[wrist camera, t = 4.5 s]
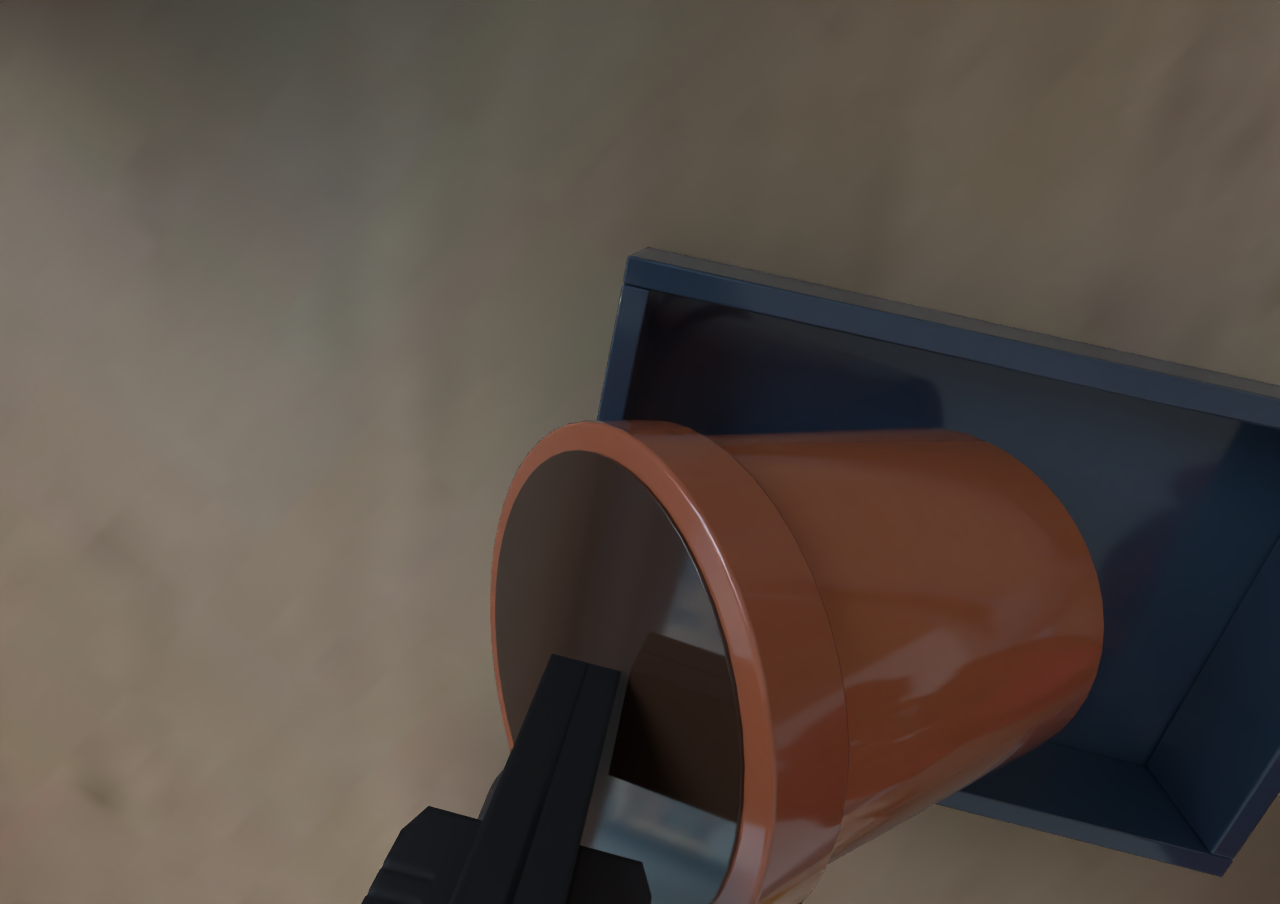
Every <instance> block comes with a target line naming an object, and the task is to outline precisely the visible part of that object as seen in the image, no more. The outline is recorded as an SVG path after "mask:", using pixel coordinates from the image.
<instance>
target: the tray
mask: <svg viewBox="0 0 1280 904" xmlns="http://www.w3.org/2000/svg"><path fill="white" fill-rule="evenodd" d="M623 283H624V284H623V286H622V289H621V294H620V299H619V304H618V310H617V315H616V320H615V326H614V331H613V336H612V341H611V347H610V352H609V357H608V363H607V368H606V373H605V379H604V384H603V389H602V394H601V400H600V405H599V410H598V416H597V420H645V419H650V420H660V421H669V422H672V423H675V424H678V425H682V426H685V427H688V428H690V429H692V430H694V431H696V432H697V433H699V434H701V435H726V434H751V433H777V432H803V431H829V430H855V429H881V428H907V427H932V428H944V429H949V430H953V431H958V432H963V433H966V434H968V435H971V436H974V437H977V438H979V439H982V440H985V441H987V442H989V443H990V444H992V445H994V446H996V447H998V448H1000V449H1002V450H1004V451H1005V452H1007V453H1008V454H1010V455H1011V456H1013V457H1014V458H1016V459H1017V460H1018V461H1020V462H1021V463H1023V464H1024V465H1025V466H1026V467H1028V468H1029V469H1030V470H1031V471H1032V472H1033V473H1034V474H1035V475H1036V476H1038V477H1039V478H1040V479H1041V480H1042V481H1043V482H1044V483H1045V484H1046V485H1047V486H1048V488H1049V489H1050V490H1051V491H1052V492H1053V493H1054V495H1055V496H1056V497H1057V498H1058V499H1059V500H1060V501H1061V503H1062V504H1063V506H1064V507H1065V509H1066V510H1067V512H1068V513H1069V515H1070V516H1071V518H1072V519H1073V521H1074V522H1075V524H1076V526H1077V528H1078V530H1079V532H1080V534H1081V536H1082V538H1083V540H1084V542H1085V544H1086V546H1087V548H1088V550H1089V553H1090V556H1091V559H1092V561H1093V564H1094V567H1095V570H1096V573H1097V577H1098V582H1099V587H1100V591H1101V596H1102V603H1103V619H1104V633H1103V645H1102V654H1101V658H1100V662H1099V666H1098V670H1097V674H1096V677H1095V680H1094V682H1093V684H1092V686H1091V689H1090V691H1089V693H1088V696H1087V698H1086V699H1085V701H1084V702H1083V704H1082V705H1081V707H1080V708H1079V710H1078V712H1077V713H1076V715H1075V716H1074V717H1073V718H1072V719H1071V720H1070V721H1069V722H1068V723H1067V724H1066V726H1065V727H1064V728H1063V729H1062V730H1061V731H1060V732H1059V733H1057V734H1056V735H1054V736H1053V737H1052V738H1050V739H1049V740H1047V741H1046V742H1045V743H1043V744H1042V745H1040V746H1038V747H1036V748H1035V749H1033V750H1031V751H1029V752H1027V753H1026V754H1024V755H1022V756H1020V757H1018V758H1017V759H1015V760H1013V761H1011V762H1010V763H1008V764H1006V765H1004V766H1002V767H1001V768H999V769H997V770H995V771H993V772H992V773H990V774H988V775H986V776H985V777H983V778H981V779H979V780H977V781H976V782H974V783H972V784H970V785H969V786H967V787H965V788H963V789H961V790H960V791H958V792H956V793H954V794H952V795H951V796H949V797H947V798H945V799H944V800H942V801H940V802H938V803H936V804H938V805H942V806H946V807H949V808H953V809H957V810H961V811H965V812H969V813H973V814H977V815H981V816H985V817H989V818H992V819H996V820H1000V821H1004V822H1008V823H1012V824H1016V825H1020V826H1024V827H1028V828H1032V829H1035V830H1039V831H1043V832H1047V833H1051V834H1055V835H1059V836H1063V837H1067V838H1071V839H1074V840H1078V841H1082V842H1086V843H1090V844H1094V845H1098V846H1102V847H1106V848H1110V849H1114V850H1117V851H1121V852H1125V853H1129V854H1133V855H1137V856H1141V857H1145V858H1149V859H1153V860H1157V861H1160V862H1164V863H1168V864H1172V865H1176V866H1180V867H1184V868H1188V869H1192V870H1196V871H1200V872H1203V873H1207V874H1211V875H1215V876H1219V877H1222V876H1223V875H1224V873H1225V872H1226V870H1227V869H1228V868H1229V866H1230V865H1231V863H1232V859H1233V858H1235V856H1236V855H1237V853H1238V852H1239V850H1240V849H1241V847H1242V846H1243V845H1244V843H1245V842H1246V840H1247V839H1248V837H1249V836H1250V834H1251V833H1252V831H1253V830H1254V828H1255V827H1256V826H1257V824H1258V823H1259V821H1260V820H1261V818H1262V817H1263V815H1264V814H1265V812H1266V811H1267V809H1268V808H1269V807H1270V805H1271V804H1272V802H1273V801H1274V799H1275V798H1276V796H1277V795H1278V793H1279V792H1280V386H1279V385H1275V384H1270V383H1266V382H1261V381H1257V380H1252V379H1248V378H1243V377H1238V376H1234V375H1229V374H1225V373H1220V372H1216V371H1211V370H1207V369H1202V368H1198V367H1193V366H1188V365H1184V364H1179V363H1175V362H1170V361H1166V360H1161V359H1157V358H1152V357H1147V356H1143V355H1138V354H1134V353H1129V352H1125V351H1120V350H1116V349H1111V348H1106V347H1102V346H1097V345H1093V344H1088V343H1084V342H1079V341H1075V340H1070V339H1065V338H1061V337H1056V336H1052V335H1047V334H1043V333H1038V332H1034V331H1029V330H1025V329H1020V328H1015V327H1011V326H1006V325H1002V324H997V323H993V322H988V321H984V320H979V319H974V318H970V317H965V316H961V315H956V314H952V313H947V312H943V311H938V310H933V309H929V308H924V307H920V306H915V305H911V304H906V303H902V302H897V301H892V300H888V299H883V298H879V297H874V296H870V295H865V294H861V293H856V292H851V291H847V290H842V289H838V288H833V287H829V286H824V285H820V284H815V283H811V282H806V281H801V280H797V279H792V278H788V277H783V276H779V275H774V274H770V273H765V272H760V271H756V270H751V269H747V268H742V267H738V266H733V265H729V264H724V263H719V262H715V261H710V260H706V259H701V258H697V257H692V256H688V255H683V254H678V253H674V252H669V251H665V250H660V249H656V248H651V247H647V248H645V249H643V250H640V251H638V252H636V253H634V254H631V255H629V256H628V258H627V262H626V267H625V273H624V278H623Z"/></svg>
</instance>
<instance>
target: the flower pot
mask: <svg viewBox="0 0 1280 904" xmlns="http://www.w3.org/2000/svg"><path fill="white" fill-rule="evenodd" d="M490 621H491V639H492V652H493V661H494V671H495V677H496V684H497V691H498V697H499V702H500V707H501V712H502V717H503V722H504V727H505V731H506V735H507V739H508V743H509V747H510V751H512V748H513V746H514V743H515V741H516V739H517V736H518V734H519V731H520V729H521V727H522V724H523V722H524V719H525V717H526V714H527V712H528V710H529V707H530V705H531V702H532V700H533V697H534V695H535V693H536V690H537V688H538V685H539V683H540V680H541V678H542V676H543V673H544V671H545V668H546V666H547V663H548V661H549V659H550V656H551V654H556V655H559V656H563V657H567V658H571V659H575V660H579V661H583V662H587V663H590V664H594V665H598V666H602V667H605V668H609V669H613V670H617V671H621V676H620V680H619V684H618V688H617V692H616V696H615V701H614V705H613V709H612V713H611V717H610V721H609V725H608V730H607V734H606V738H605V742H604V746H603V750H602V755H601V759H600V763H599V767H598V771H597V775H596V780H595V784H594V788H593V792H592V796H591V800H590V805H589V809H588V813H587V817H586V821H585V825H584V830H583V834H582V838H581V842H580V845H581V846H585V847H589V848H593V849H596V850H600V851H604V852H607V853H611V854H615V855H619V856H622V857H626V858H630V859H633V860H637V861H641V862H642V863H643V866H644V870H645V874H646V877H647V881H648V884H649V888H650V892H651V895H652V899H651V904H802V902H803V901H804V900H805V899H806V898H807V896H808V895H809V894H810V893H811V892H812V890H813V889H814V888H815V886H816V885H817V883H818V881H819V879H820V877H821V875H822V873H823V871H824V869H825V868H826V866H827V865H828V864H829V863H831V862H833V861H835V860H836V859H838V858H840V857H842V856H844V855H845V854H847V853H849V852H851V851H853V850H854V849H856V848H858V847H860V846H861V845H863V844H865V843H867V842H869V841H870V840H872V839H874V838H876V837H877V836H879V835H881V834H883V833H885V832H886V831H888V830H890V829H892V828H894V827H895V826H897V825H899V824H901V823H902V822H904V821H906V820H908V819H910V818H911V817H913V816H915V815H917V814H919V813H920V812H922V811H924V810H926V809H927V808H929V807H931V806H933V805H935V804H936V803H938V802H940V801H942V800H944V799H945V798H947V797H949V796H951V795H952V794H954V793H956V792H958V791H960V790H961V789H963V788H965V787H967V786H969V785H970V784H972V783H974V782H976V781H977V780H979V779H981V778H983V777H985V776H986V775H988V774H990V773H992V772H993V771H995V770H997V769H999V768H1001V767H1002V766H1004V765H1006V764H1008V763H1010V762H1011V761H1013V760H1015V759H1017V758H1018V757H1020V756H1022V755H1024V754H1026V753H1027V752H1029V751H1031V750H1033V749H1035V748H1036V747H1038V746H1040V745H1042V744H1043V743H1045V742H1046V741H1047V740H1049V739H1050V738H1052V737H1053V736H1054V735H1056V734H1057V733H1059V732H1060V731H1061V730H1062V729H1063V728H1064V727H1065V726H1066V724H1067V723H1068V722H1069V721H1070V720H1071V719H1072V718H1073V717H1074V716H1075V715H1076V713H1077V712H1078V710H1079V708H1080V707H1081V705H1082V704H1083V702H1084V701H1085V699H1086V698H1087V696H1088V693H1089V691H1090V689H1091V686H1092V684H1093V682H1094V680H1095V677H1096V674H1097V670H1098V666H1099V662H1100V658H1101V654H1102V645H1103V633H1104V619H1103V603H1102V596H1101V591H1100V587H1099V582H1098V577H1097V573H1096V570H1095V567H1094V564H1093V561H1092V559H1091V556H1090V553H1089V550H1088V548H1087V546H1086V544H1085V542H1084V540H1083V538H1082V536H1081V534H1080V532H1079V530H1078V528H1077V526H1076V524H1075V522H1074V521H1073V519H1072V518H1071V516H1070V515H1069V513H1068V512H1067V510H1066V509H1065V507H1064V506H1063V504H1062V503H1061V501H1060V500H1059V499H1058V498H1057V497H1056V496H1055V495H1054V493H1053V492H1052V491H1051V490H1050V489H1049V488H1048V486H1047V485H1046V484H1045V483H1044V482H1043V481H1042V480H1041V479H1040V478H1039V477H1038V476H1036V475H1035V474H1034V473H1033V472H1032V471H1031V470H1030V469H1029V468H1028V467H1026V466H1025V465H1024V464H1023V463H1021V462H1020V461H1018V460H1017V459H1016V458H1014V457H1013V456H1011V455H1010V454H1008V453H1007V452H1005V451H1004V450H1002V449H1000V448H998V447H996V446H994V445H992V444H990V443H989V442H987V441H985V440H982V439H979V438H977V437H974V436H971V435H968V434H966V433H963V432H958V431H953V430H949V429H944V428H932V427H907V428H881V429H855V430H829V431H803V432H777V433H751V434H726V435H701V434H699V433H697V432H696V431H694V430H692V429H690V428H688V427H685V426H682V425H678V424H675V423H672V422H669V421H660V420H650V419H645V420H597V421H581V422H574V423H569V424H567V425H564V426H562V427H560V428H558V429H555V430H553V431H552V432H550V433H549V434H548V435H546V436H545V437H544V438H542V439H541V440H540V441H539V442H538V443H537V444H536V445H535V446H534V447H533V448H532V449H531V450H530V452H529V453H528V454H527V456H526V457H525V459H524V460H523V462H522V463H521V465H520V466H519V468H518V470H517V472H516V474H515V476H514V478H513V480H512V482H511V484H510V487H509V490H508V493H507V495H506V498H505V501H504V504H503V507H502V511H501V515H500V519H499V523H498V528H497V533H496V539H495V544H494V552H493V561H492V570H491V590H490Z"/></svg>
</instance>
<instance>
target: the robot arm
mask: <svg viewBox="0 0 1280 904" xmlns="http://www.w3.org/2000/svg"><path fill="white" fill-rule="evenodd" d="M620 676H621V671H617V670H613V669H609V668H605V667H602V666H598V665H594V664H590V663H587V662H583V661H579V660H575V659H571V658H567V657H563V656H559V655H556V654H551V656H550V659H549V661H548V663H547V666H546V668H545V671H544V673H543V676H542V678H541V680H540V683H539V685H538V688H537V690H536V693H535V695H534V697H533V700H532V702H531V705H530V707H529V710H528V712H527V714H526V717H525V719H524V722H523V724H522V727H521V729H520V731H519V734H518V736H517V739H516V741H515V743H514V746H513V748H512V751H511V753H510V756H509V758H508V760H507V763H506V765H505V768H504V770H503V773H502V775H501V777H500V780H499V782H498V785H497V787H496V790H495V792H494V794H493V797H492V799H491V802H490V804H489V807H488V809H487V811H486V814H485V816H484V819H483V821H482V820H479V819H475V818H471V817H467V816H464V815H460V814H456V813H453V812H449V811H445V810H442V809H438V808H434V807H431V806H428V807H427V808H426V809H425V810H424V811H422V812H421V813H420V814H419V815H418V816H417V817H415V818H414V819H413V820H412V821H411V822H410V823H409V824H407V825H406V826H405V827H404V828H403V829H402V830H401V831H400V833H399V835H398V837H397V839H396V841H395V842H394V844H393V846H392V848H391V850H390V852H389V854H388V855H387V857H386V859H385V861H384V864H383V867H382V869H381V868H380V870H379V872H378V874H377V876H376V878H375V880H374V881H373V883H372V885H371V887H370V889H369V892H368V895H367V896H365V898H364V900H363V902H362V904H651V899H652V895H651V892H650V888H649V884H648V881H647V877H646V874H645V870H644V866H643V863H642V862H641V861H637V860H633V859H630V858H626V857H622V856H619V855H615V854H611V853H607V852H604V851H600V850H596V849H593V848H589V847H585V846H581V845H580V842H581V838H582V834H583V830H584V825H585V821H586V817H587V813H588V809H589V805H590V800H591V796H592V792H593V788H594V784H595V780H596V775H597V771H598V767H599V763H600V759H601V755H602V750H603V746H604V742H605V738H606V734H607V730H608V725H609V721H610V717H611V713H612V709H613V705H614V701H615V696H616V692H617V688H618V684H619V680H620Z"/></svg>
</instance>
